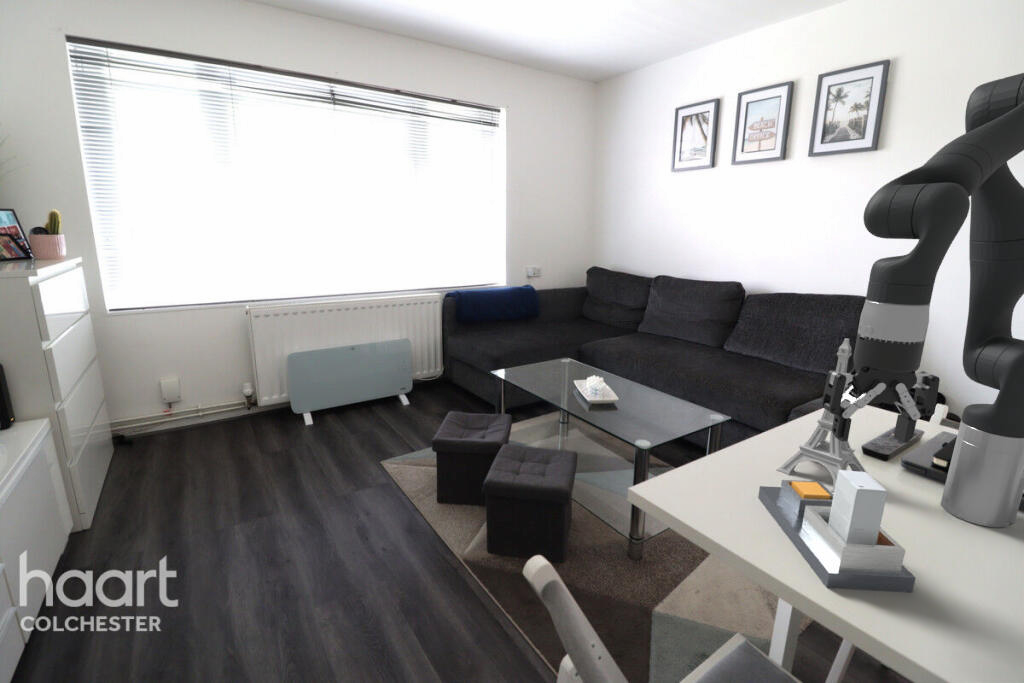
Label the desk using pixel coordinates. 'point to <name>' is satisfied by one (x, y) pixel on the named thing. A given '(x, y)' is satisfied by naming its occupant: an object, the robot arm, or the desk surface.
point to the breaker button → (810, 490)
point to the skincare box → (857, 507)
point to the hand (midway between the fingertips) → (870, 440)
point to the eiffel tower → (817, 447)
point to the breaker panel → (836, 544)
